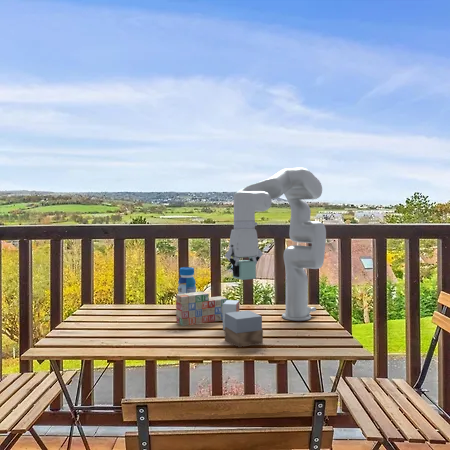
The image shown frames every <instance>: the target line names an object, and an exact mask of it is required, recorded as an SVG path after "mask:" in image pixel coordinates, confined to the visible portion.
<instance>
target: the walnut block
mask: <svg viewBox="0 0 450 450" xmlns="http://www.w3.org/2000/svg"><path fill="white" fill-rule="evenodd" d="M263 334H264V329H262V330H259V331H251V332H244V333H235V332H234V331H232V330H230V329H228V328H227V327H225V330H224V340H225V341H226V342H229V343H230V344H231V345H234V346H235V345H236V347H237V346H238V347H237V348H241V347H242V346H243V347H248V346H253V345H258V344H259V343H260V344H263V341H264V340H263V339H264V337H263V336H264V335H263Z"/></svg>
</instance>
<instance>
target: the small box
mask: <svg viewBox="0 0 450 450" xmlns="http://www.w3.org/2000/svg"><path fill="white" fill-rule="evenodd" d="M238 311H240V300H238V299H237V300H233V299H227V300H226V301H225V303H224V304H223V320H222V330H224V331H225V313H229V312H238Z"/></svg>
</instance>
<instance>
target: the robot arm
mask: <svg viewBox="0 0 450 450" xmlns="http://www.w3.org/2000/svg"><path fill="white" fill-rule="evenodd" d="M322 185H323V184H322V183H321V181H320V180H319V178H317V177H316V176H315V175H314V173H313V172H311V171H310V170H309V169H307V168H305V167H293V168H292V167H291V168H288V167H287V168H282V169H280V170H279V171H278V172H276V173H274V174H272V175H271V176H270V177H269V178H267V179H264V180H260V181H258V182H255V183H252V184H249V185H246V186H244V187H243V188H241V189H240V190H238V191H236V192H235V193H234V194H233V229H231V231H230V236H229V245H228V246H229V247H228V250H227V252H226V253H225V254H224V257H225V258H226V259H227V261H228V262H229V263H230V264H231V266H232V277H233V276H235V277H239V266H238V263H239V261H241V260H240V259H241V258H242V259H243V258H248V260H249V261H254V262H256V265H257V264H258V262H259V261H260V259H261V258H262V256H263V254H264V253H263V252H262V250H261V249H260V248H259V239H258V232H257V229H255V228H256V227H257V226H258V222H257V221H255V220H256V218H255V217H256V216H255V214H256V212H266V211H267V210H269V209H270V208H271V207H272V203H273V201H272V200H275V199H278V198H280V197H281V196H285V198H286V200H287V202H288V204H289V207H290V222H289V231H288V232H289V239H290V240H291V241H292V242H294V243H304V244H311V246H309V245H295V244H294V245H289V246H286V248H285V249H284V250H283V262H284V269H285V312H283V313H282V315H281V317H282V318H283V319H284V320H287V321H293V322H294V321H296V322H302V321H308V320H311V319H312V315H311V314H310V313H311V312H312V313H313V312H316V311H317V307H316V306H312V307H310V306H308V305H309V304H308V299H309V296H308V295H309V294H308V293H309V291H308V289H309V287H308V286H309V284H308V283H309V280H308V275H307V272H306V271H305V269H310V270H311V269H313V270H318V269H320V268H322V267H323V265H324V262H325V251H326V242H327V229H326V226H325V224H324V223H323V222H321V221H315V220H311V213H312V212H311V207H310V205H309V204H308V203H307V201H306V200H318V199H319V198H320V197H321V196H322V193H323V186H322Z"/></svg>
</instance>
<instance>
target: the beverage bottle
mask: <svg viewBox="0 0 450 450" xmlns="http://www.w3.org/2000/svg"><path fill="white" fill-rule="evenodd" d="M194 275H195V268H194V267H191V266H183V267H180V268H179V276H180V277H179V279H178V283H177V284H178V286H177V290H178V292H177V294H185V293H192V292H197V286H196V283H197V282H196V278H195V277H194Z"/></svg>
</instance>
